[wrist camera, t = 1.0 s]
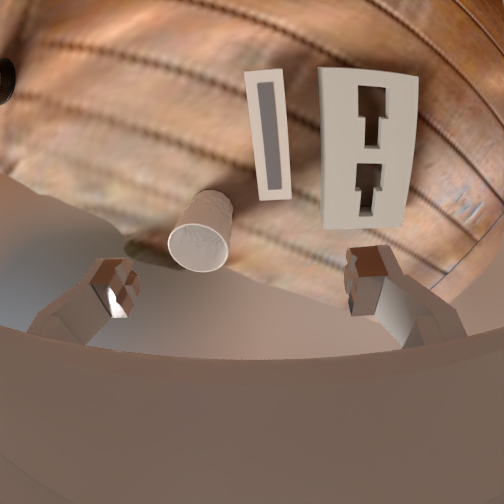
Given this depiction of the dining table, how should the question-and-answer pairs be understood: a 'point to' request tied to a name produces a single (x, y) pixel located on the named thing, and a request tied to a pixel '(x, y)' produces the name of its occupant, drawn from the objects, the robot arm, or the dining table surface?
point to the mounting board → (365, 147)
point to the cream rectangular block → (269, 132)
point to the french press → (6, 80)
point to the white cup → (203, 232)
